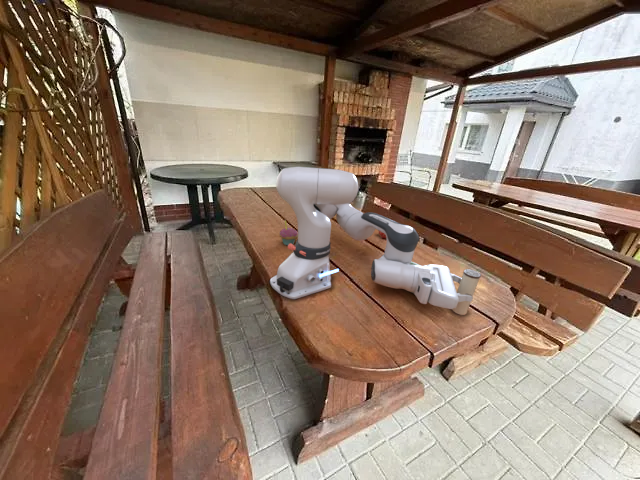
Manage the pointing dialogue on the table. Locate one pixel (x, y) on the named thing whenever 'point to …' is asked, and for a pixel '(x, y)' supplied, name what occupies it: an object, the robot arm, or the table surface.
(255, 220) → the table surface
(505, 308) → the table surface
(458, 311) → the capped cylinder
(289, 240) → the cupcake
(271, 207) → the table surface
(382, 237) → the pomegranate
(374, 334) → the table surface
